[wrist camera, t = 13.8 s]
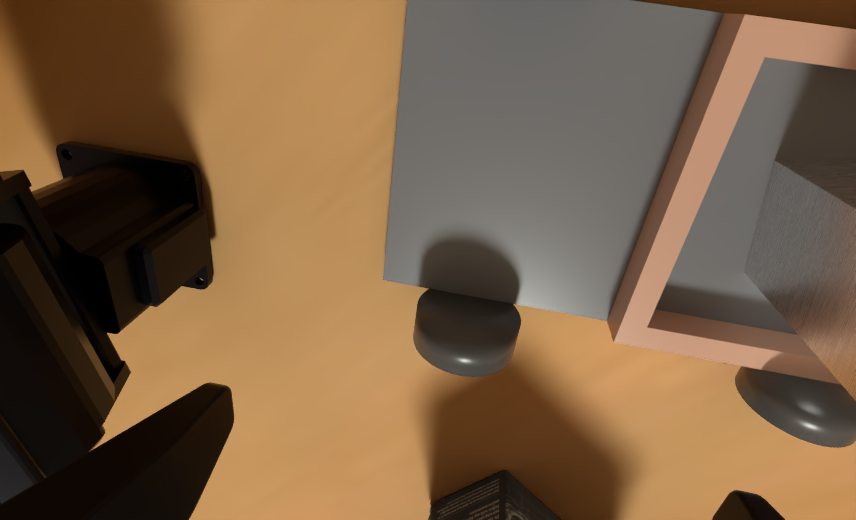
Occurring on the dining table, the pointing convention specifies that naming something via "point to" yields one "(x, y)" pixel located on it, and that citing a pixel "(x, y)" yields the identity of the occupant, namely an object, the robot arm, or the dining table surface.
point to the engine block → (811, 256)
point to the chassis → (612, 181)
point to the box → (492, 502)
